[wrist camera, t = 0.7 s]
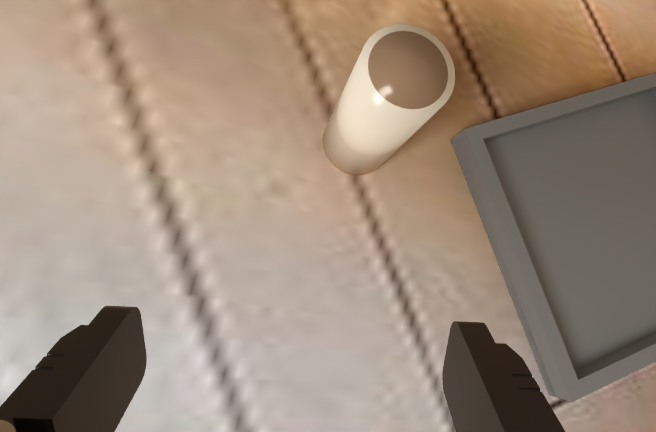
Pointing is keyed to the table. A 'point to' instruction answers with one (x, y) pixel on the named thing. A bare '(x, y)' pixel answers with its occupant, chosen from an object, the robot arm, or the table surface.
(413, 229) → the table surface
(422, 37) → the cream cup
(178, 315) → the table surface
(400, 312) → the table surface
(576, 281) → the charcoal tray
